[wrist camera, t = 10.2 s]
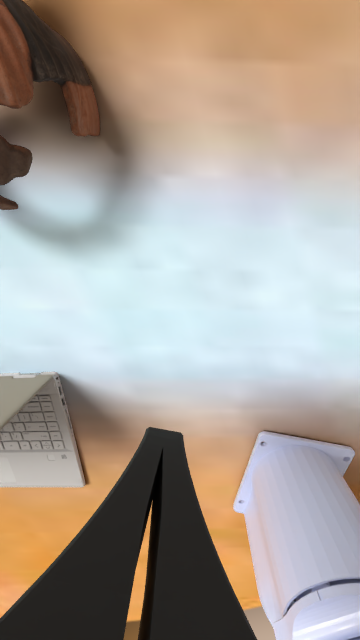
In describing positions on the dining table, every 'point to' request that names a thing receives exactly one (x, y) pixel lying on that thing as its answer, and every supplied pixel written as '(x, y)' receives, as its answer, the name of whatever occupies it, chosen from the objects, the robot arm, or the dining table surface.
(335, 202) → the dining table surface
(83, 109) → the pottery mug
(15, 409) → the laptop
